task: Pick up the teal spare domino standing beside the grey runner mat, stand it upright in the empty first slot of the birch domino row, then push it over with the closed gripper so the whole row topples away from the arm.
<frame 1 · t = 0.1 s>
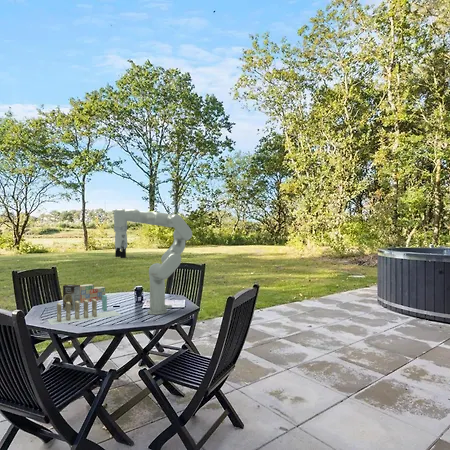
hand: (120, 257, 220), 37 cm above the table, tool pointing down, fingers open, 9 cm apart
mat: (85, 317, 220), on the table
coffee box: (71, 309, 243), on the table
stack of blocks: (90, 301, 270), on the table
tile3: (85, 317, 220), resting on mat
tile6: (59, 320, 212), resting on mat
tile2: (94, 316, 223), resting on mat
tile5: (68, 319, 214), resting on mat
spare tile: (104, 310, 238), on the table
tile4: (77, 318, 217), resting on mat
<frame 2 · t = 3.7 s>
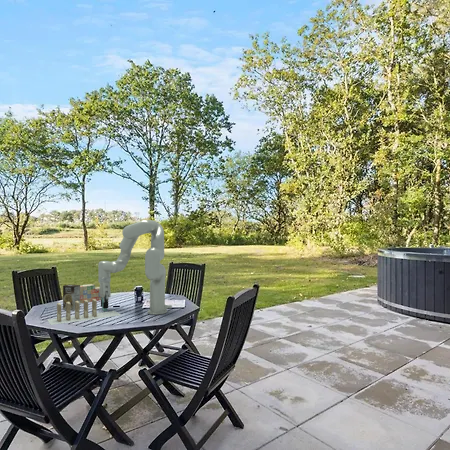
hand: (104, 307, 238), 2 cm above the table, tool pointing down, fingers closed on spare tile, 4 cm apart
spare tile: (104, 310, 238), on the table, touching gripper
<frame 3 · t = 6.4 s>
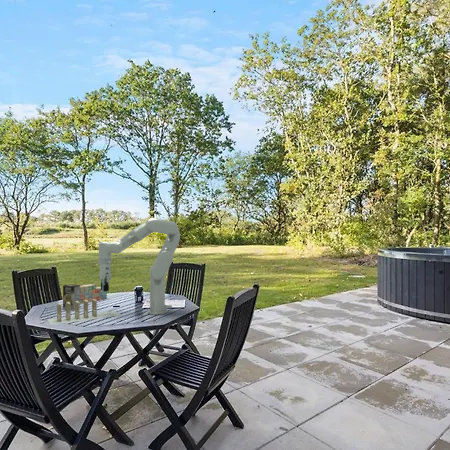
hand: (104, 290, 226), 16 cm above the table, tool pointing down, fingers closed on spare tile, 4 cm apart
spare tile: (104, 294, 226), point 13 cm above the table, touching gripper
when the fingers open (3 cm above the table, at t = 8.9 s): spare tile stays where it is, resting on mat.
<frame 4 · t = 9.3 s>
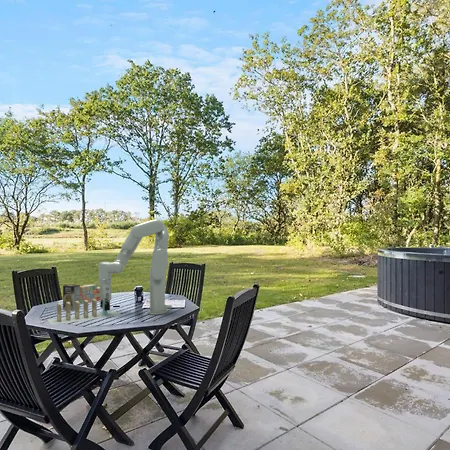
hand: (105, 308, 226), 4 cm above the table, tool pointing down, fingers open, 9 cm apart
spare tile: (105, 314, 226), resting on mat
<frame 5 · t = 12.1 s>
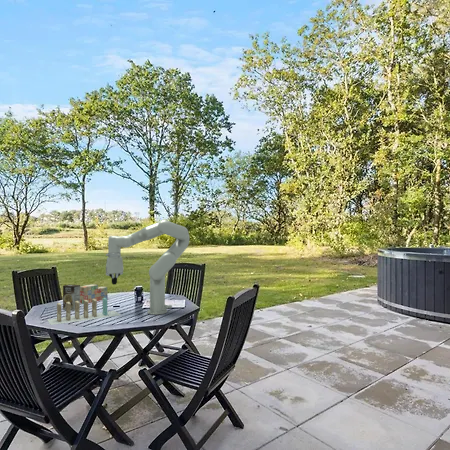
hand: (114, 284, 230), 19 cm above the table, tool pointing down, fingers closed
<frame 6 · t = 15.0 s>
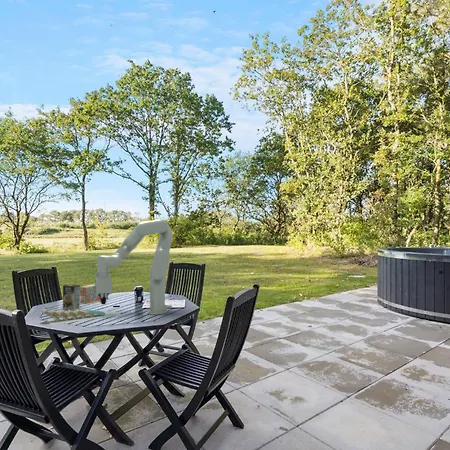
hand: (103, 303, 226), 7 cm above the table, tool pointing down, fingers closed
tile3: (84, 316, 219), point 1 cm above the table, tilted 67°, touching mat, tile4
tile6: (58, 319, 211), point 1 cm above the table, tilted 50°, touching mat
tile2: (92, 315, 222), point 1 cm above the table, tilted 69°, touching mat, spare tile
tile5: (67, 318, 214), point 1 cm above the table, tilted 58°, touching tile4
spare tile: (103, 313, 226), point 1 cm above the table, tilted 73°, touching mat, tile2
tile4: (75, 317, 217), point 1 cm above the table, tilted 64°, touching tile3, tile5
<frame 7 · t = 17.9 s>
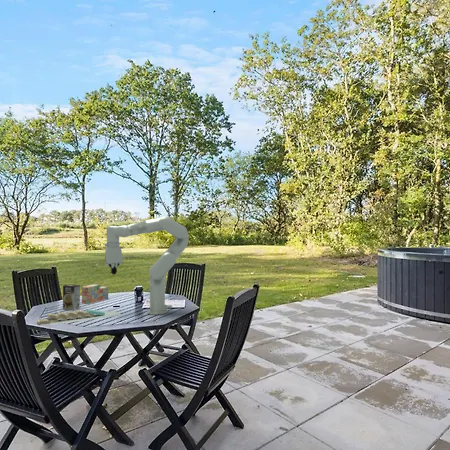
hand: (114, 274, 229), 25 cm above the table, tool pointing down, fingers closed
tile3: (84, 316, 219), point 1 cm above the table, tilted 72°, touching mat, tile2, tile4
tile6: (57, 319, 211), point 1 cm above the table, tilted 90°, touching mat, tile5
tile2: (92, 315, 222), point 1 cm above the table, tilted 71°, touching mat, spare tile, tile3
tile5: (66, 318, 214), point 1 cm above the table, tilted 71°, touching tile4, tile6
tile4: (75, 317, 217), point 1 cm above the table, tilted 71°, touching mat, tile3, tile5
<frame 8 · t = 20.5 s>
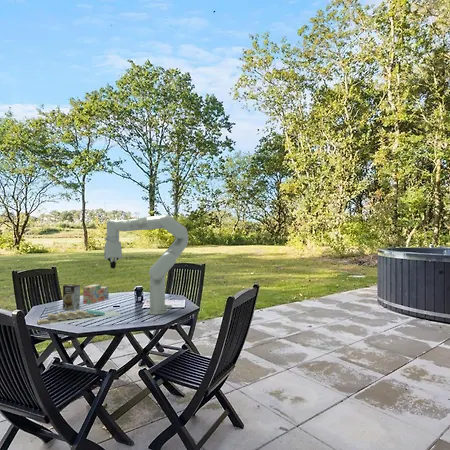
hand: (113, 268, 229), 29 cm above the table, tool pointing down, fingers closed
at the end: tile6 tilted 90°; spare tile inside the target area (2.1 cm from its centre), point 1.2 cm above the table; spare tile tilted 74° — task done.
